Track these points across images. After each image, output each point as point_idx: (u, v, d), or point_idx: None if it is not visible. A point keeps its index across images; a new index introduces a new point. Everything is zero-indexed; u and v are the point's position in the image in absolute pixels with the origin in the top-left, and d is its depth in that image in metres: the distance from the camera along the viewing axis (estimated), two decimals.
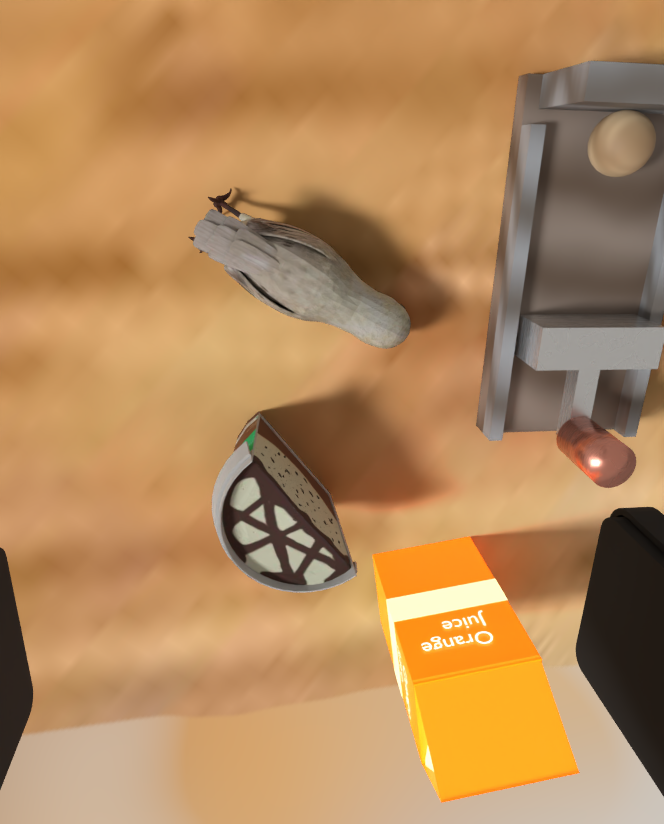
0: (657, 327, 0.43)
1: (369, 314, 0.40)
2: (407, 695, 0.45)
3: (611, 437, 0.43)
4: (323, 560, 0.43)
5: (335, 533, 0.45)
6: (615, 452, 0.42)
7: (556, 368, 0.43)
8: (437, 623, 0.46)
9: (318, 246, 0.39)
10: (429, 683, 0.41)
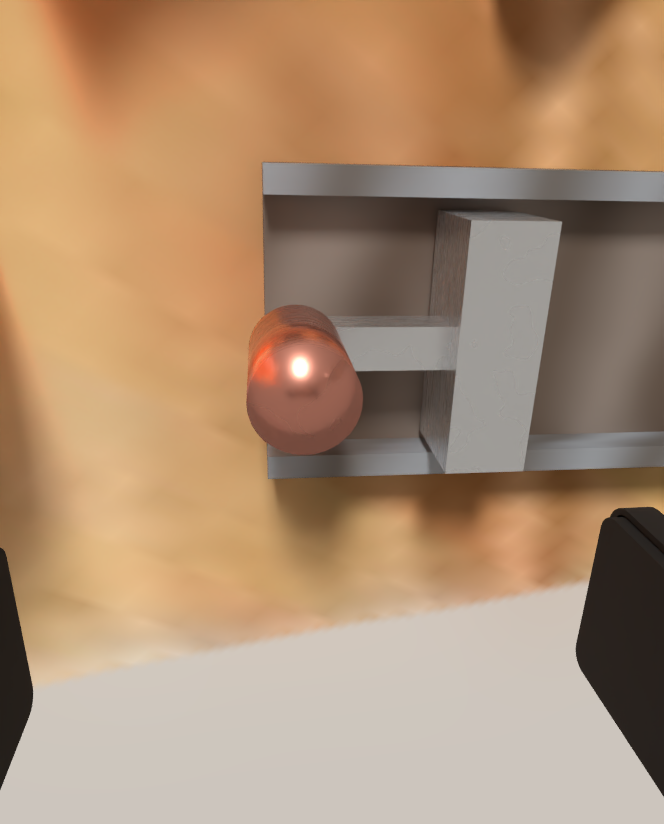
0: (524, 454, 0.23)
1: None
2: None
3: None
4: None
5: None
6: (343, 399, 0.17)
7: (470, 266, 0.20)
8: None
9: None
10: None
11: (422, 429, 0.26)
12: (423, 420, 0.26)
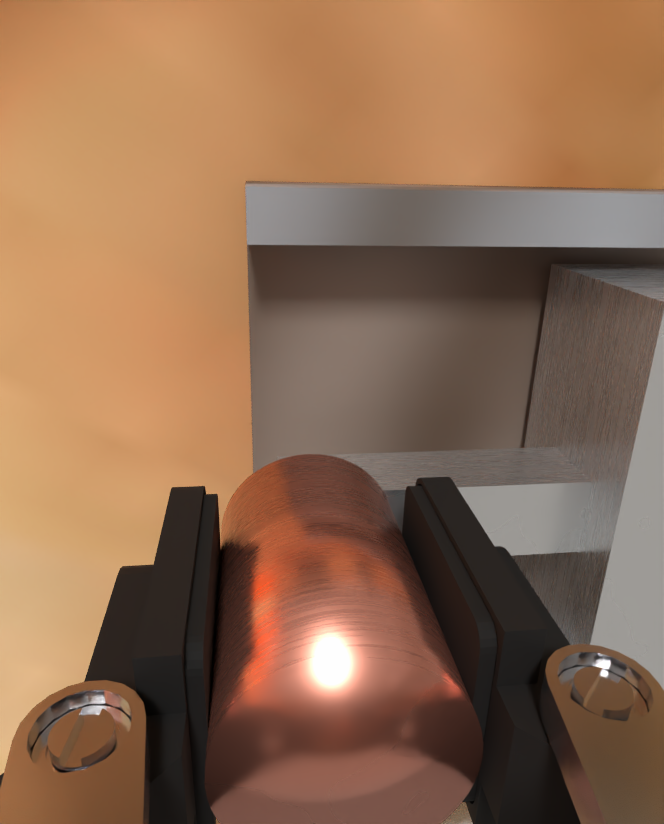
0: None
1: None
2: None
3: None
4: None
5: None
6: (437, 757, 0.07)
7: (653, 389, 0.10)
8: None
9: None
10: None
11: None
12: None
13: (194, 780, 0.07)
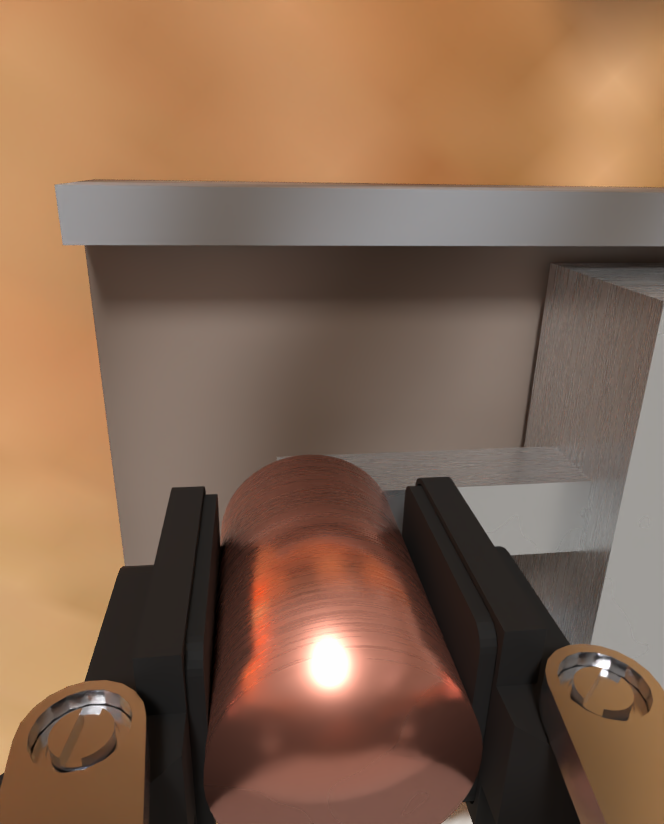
0: None
1: None
2: None
3: None
4: None
5: None
6: (436, 758, 0.07)
7: (652, 388, 0.10)
8: None
9: None
10: None
11: None
12: None
13: (194, 780, 0.07)
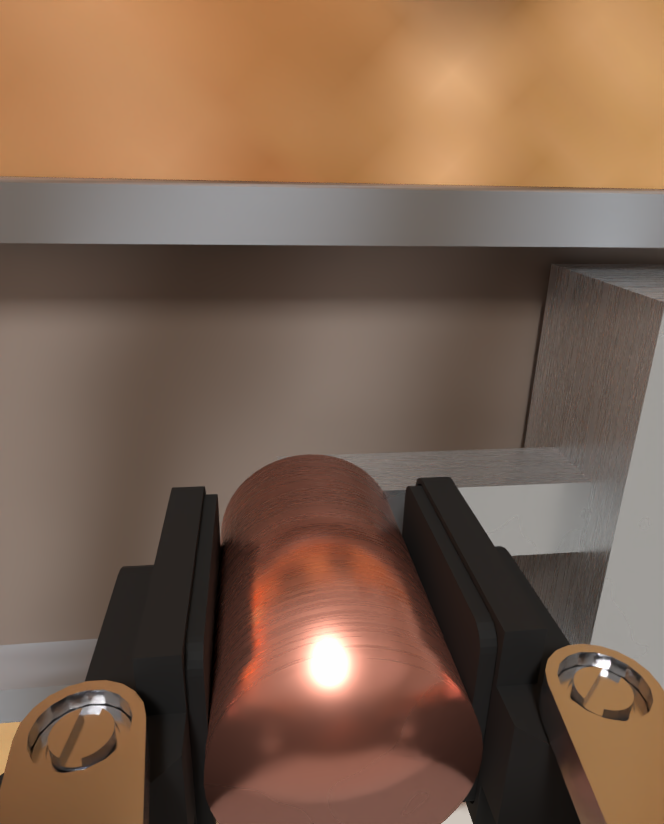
0: None
1: None
2: None
3: None
4: None
5: None
6: (436, 758, 0.07)
7: (653, 389, 0.10)
8: None
9: None
10: None
11: None
12: None
13: (194, 780, 0.07)
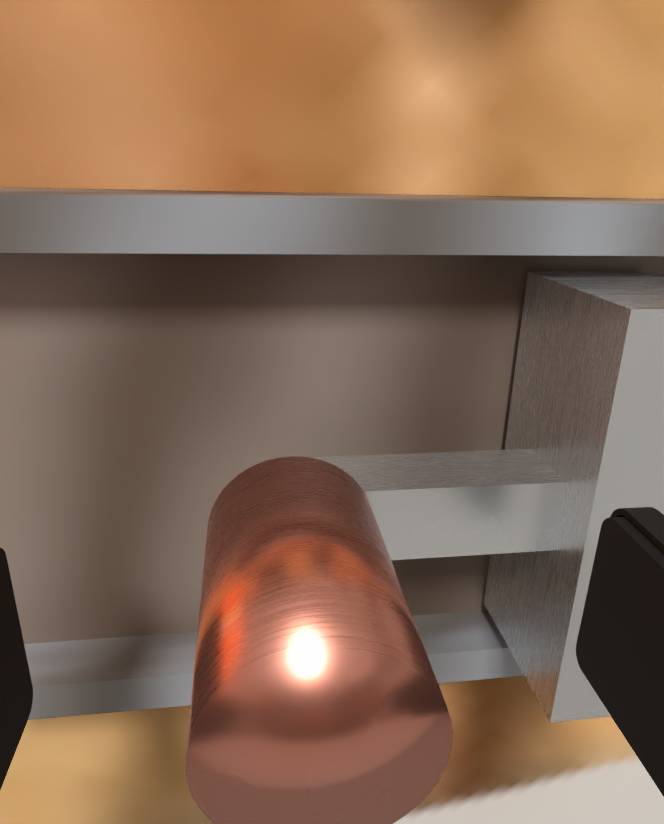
0: None
1: None
2: None
3: None
4: None
5: None
6: (408, 744, 0.08)
7: (621, 392, 0.11)
8: None
9: None
10: None
11: (489, 605, 0.17)
12: (493, 594, 0.17)
13: None
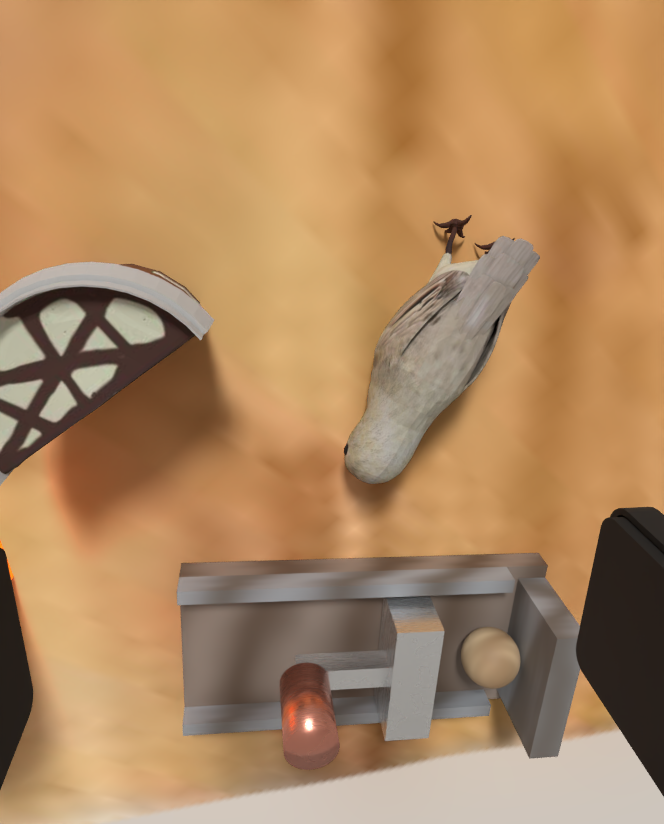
0: (429, 729, 0.42)
1: (406, 444, 0.34)
2: None
3: None
4: (16, 434, 0.27)
5: None
6: (330, 747, 0.36)
7: (397, 651, 0.39)
8: None
9: None
10: None
11: (374, 695, 0.45)
12: (375, 692, 0.45)
13: None
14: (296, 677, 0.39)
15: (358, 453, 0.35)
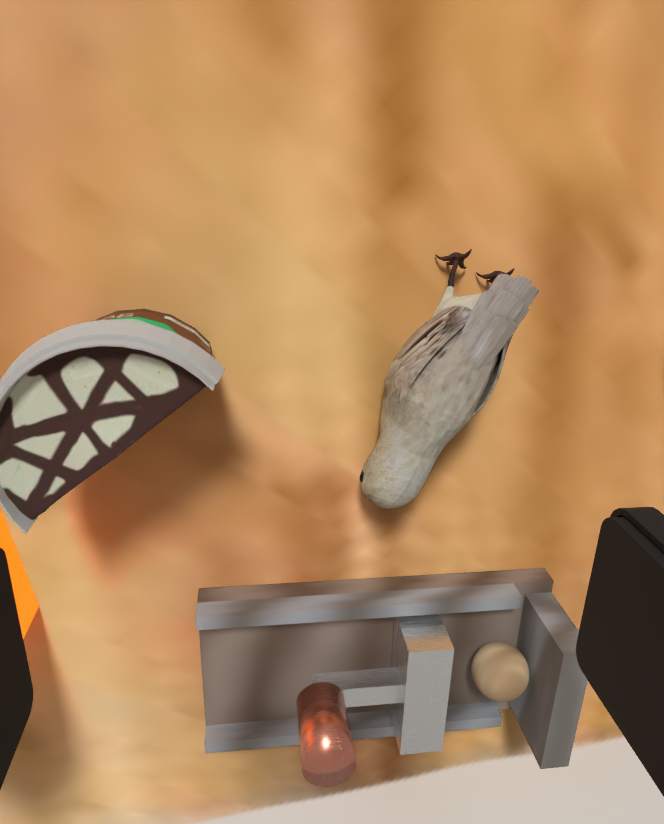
0: (442, 742, 0.44)
1: (418, 472, 0.35)
2: None
3: None
4: (41, 483, 0.29)
5: None
6: (346, 764, 0.37)
7: (409, 669, 0.41)
8: None
9: None
10: None
11: (389, 710, 0.47)
12: (389, 707, 0.46)
13: None
14: (312, 697, 0.40)
15: (373, 481, 0.36)
